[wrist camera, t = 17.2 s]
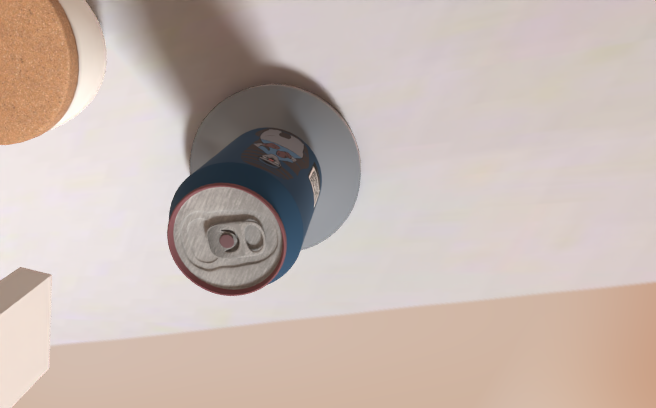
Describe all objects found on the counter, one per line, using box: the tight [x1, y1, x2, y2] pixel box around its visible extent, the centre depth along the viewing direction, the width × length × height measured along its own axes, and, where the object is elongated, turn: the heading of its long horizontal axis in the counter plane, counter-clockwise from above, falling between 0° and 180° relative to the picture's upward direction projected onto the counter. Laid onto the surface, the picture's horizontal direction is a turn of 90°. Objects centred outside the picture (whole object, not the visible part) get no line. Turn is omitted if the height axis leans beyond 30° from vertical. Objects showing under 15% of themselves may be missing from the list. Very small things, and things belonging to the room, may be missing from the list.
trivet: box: [190, 84, 361, 250], centre depth 36 cm, size 12×12×2 cm
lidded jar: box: [0, 0, 107, 145], centre depth 31 cm, size 11×11×9 cm
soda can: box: [167, 127, 322, 296], centre depth 29 cm, size 7×7×12 cm
